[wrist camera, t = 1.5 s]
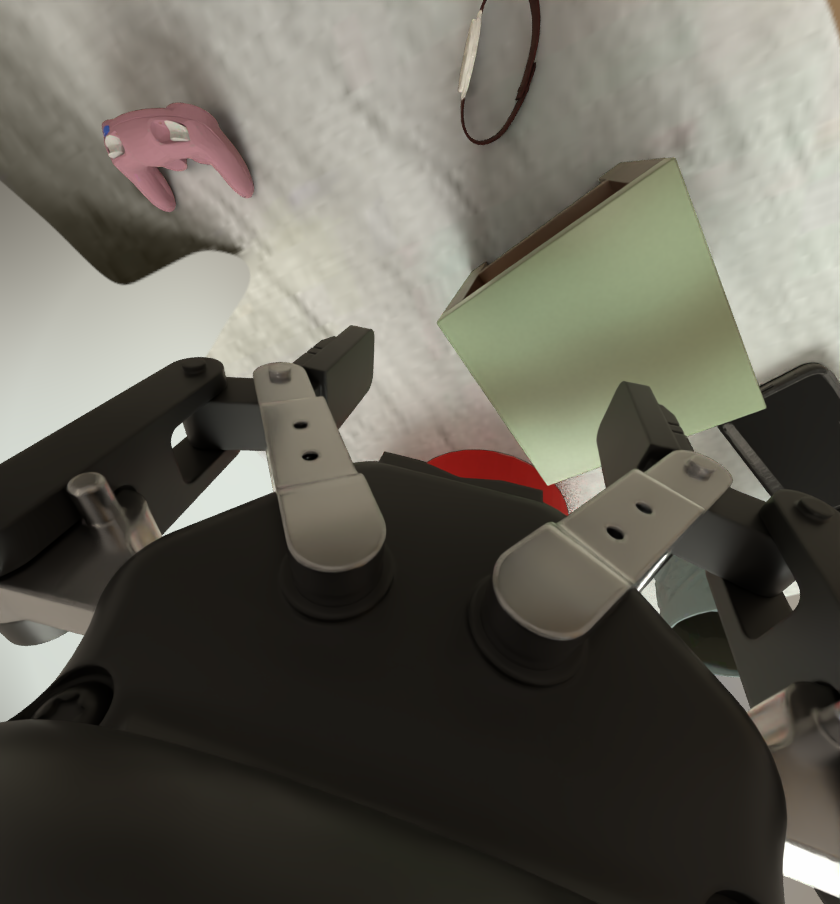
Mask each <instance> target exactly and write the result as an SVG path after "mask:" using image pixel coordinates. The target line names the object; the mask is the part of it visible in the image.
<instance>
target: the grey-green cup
mask: <svg viewBox="0 0 840 904" xmlns="http://www.w3.org/2000/svg"><path fill="white" fill-rule="evenodd" d="M654 578H655V580H656V583H655V586H656V597H657V602H658V607H659V608H660V615H661V617H662V618H663V619H664V620H665V621H666V622H667V623H668V624H669V625H670V627H671V628H672V629H673V630H674V631H675V632H676V633H677V634H678V635H679V637H680V638H681V639H682V640H683V641H684V642H685V643H686V644H687V645H688V647H689V648H690V649H691V650H692V651H693V652H694V653H695V654H696V655H697V657H698V658H699V659H700V660H701V661H702V662H703V663H704V664H705V665H706V667H707V668H708V669H709V670H710V671H711V672H712V673H713V674H714V675H720V676H727V677H740V676H739V673H738V670H737V667H736V664H735V661H734V658H733V655H732V652H731V649H730V646H729V643H728V640H727V637H726V634H725V631H724V628H723V625H722V622H721V619H720V616H719V613H718V610H717V607H716V604H715V601H714V599H713V596H712V593H711V590H710V587H709V584H708V581H707V578H706V574H705V570H704V569H702V568H700V567H698V566H696V565H693V564H691V563H689V562H687V561H685V560H683V559H681V558H679V557H677V556H675V555H674V556H673V557H672V558H671V559H670V560H669V562H668V563H667V564H666V565H665V566H664V567H663V568H662V569H661V570H660V572H659V573H658V574H657V575H656V576H655V577H654ZM792 611H793V610H792Z"/></svg>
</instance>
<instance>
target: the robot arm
mask: <svg viewBox="0 0 840 904" xmlns="http://www.w3.org/2000/svg"><path fill="white" fill-rule="evenodd" d="M373 363H374V332H373V330H372V329H367V328H362V327H358V326H353V325H350V326H349V327H348V328H347V329H345V330H344V331H343V332H342V333H340V334H339V335H338V336H337V337H335V336H333V337H330V338H327V339H324V340H321V341H320V342H319V343H317V344H316V345H315V346H314V347H313V348H311V349H310V350H308V351H307V353H305V354H303V355H302V356H301V357H299V358H298V359H297V360H296V361H294V362H293V363H287V362H276V363H269V364H265V365H262V366H260V367H258V368H257V369H255V371H254V372H253V378H235V377H226V375H225V371H224V366H223V364H222V363H221V362H220V361H218V360H216V359H212V358H206V357H194V358H186V359H182V360H178V361H176V362H173V363H172V364H170V365H168V366H167V367H165V368H163V369H161V370H159V371H158V372H156V373H155V374H153V375H151V376H149V377H148V378H146V379H144V380H142V381H141V382H139V383H137V384H136V385H134V386H132V387H131V388H129V389H128V390H126V391H124V392H122V393H120V394H119V395H117V396H115V397H114V398H112V399H110V400H108V401H107V402H105V403H103V404H102V405H100V406H98V407H97V408H95V409H93V410H92V411H90V412H88V413H86V414H85V415H83V416H81V417H80V418H78V419H76V420H74V421H73V422H71V423H69V424H68V425H66V426H64V427H63V428H61V429H59V430H57V431H56V432H54V433H52V434H51V435H49V436H47V437H45V438H44V439H42V440H40V441H39V442H37V443H35V444H34V445H32V446H30V447H28V448H27V449H25V450H24V451H22V452H20V453H18V454H17V455H15V456H13V457H11V458H10V459H8V460H6V461H5V462H3V463H1V464H0V633H1V634H3V636H5V637H6V638H7V639H8V640H9V641H10V642H12V643H14V644H16V645H21V646H31V645H38V644H42V643H45V642H48V641H51V640H53V639H56V638H58V637H60V636H61V635H63V634H65V633H67V632H68V631H70V632H74V633H77V634H82V635H84V637H83V639H82V641H81V642H80V644H79V646H78V647H77V649H76V651H75V653H74V654H73V656H72V658H71V659H70V660H69V662H68V663H67V665H66V666H65V668H64V669H63V670H62V672H61V673H60V675H59V676H58V677H57V678H56V680H55V681H54V682H53V683H52V684H51V686H49V687H48V689H47V690H46V691H44V692H43V693H42V694H41V695H40V696H39V697H38V698H37V699H36V700H35V701H34V702H32V703H31V704H30V705H29V706H27V707H26V708H25V709H24V710H22V711H21V712H20V713H18V714H17V715H16V716H14V717H13V718H11V719H9V720H8V721H6V722H1V723H0V904H785V901H784V888H783V875H785V876H787V877H789V878H792V879H794V880H797V881H799V882H801V883H804V884H806V885H809V886H811V887H814V889H815V891H816V892H817V894H818V896H819V897H820V899H821V900H822V902H823V903H824V904H840V512H839V511H837V510H836V509H835V508H833V507H832V506H830V505H828V504H827V503H825V502H823V501H821V500H819V499H817V498H815V497H813V496H811V495H808V494H805V493H802V492H799V491H795V490H789V489H781V490H778V491H776V492H775V493H774V494H773V495H772V496H771V498H770V499H769V500H768V501H767V502H764V501H762V500H759V499H757V498H754V497H752V496H749V495H747V494H744V493H742V492H739V491H737V490H735V489H732V488H730V486H731V484H732V483H733V479H732V476H731V474H730V473H729V472H728V470H726V469H725V468H724V467H723V466H722V465H721V464H719V463H718V462H716V461H714V460H713V459H711V458H709V457H707V456H704V455H702V454H699V453H696V452H694V450H693V448H692V446H691V444H690V442H689V441H688V439H687V437H686V435H684V431H683V430H682V428H681V427H679V426H680V424H679V422H678V421H677V419H676V417H675V415H674V414H673V413H672V412H670V411H669V410H668V409H667V408H666V407H664V406H663V405H660V404H658V402H657V400H656V398H655V396H654V394H653V392H652V390H651V388H650V386H647V385H642V384H637V383H632V382H627V381H622V382H621V383H620V384H619V386H618V387H617V389H616V391H615V394H614V396H613V398H612V400H611V402H610V404H609V406H608V408H607V410H606V413H605V415H604V417H603V419H602V421H601V423H600V426H599V429H598V432H597V438H596V442H597V447H598V452H599V457H600V462H601V467H602V472H603V476H604V481H605V486H606V489H604V490H603V491H602V492H600V493H599V494H597V495H596V496H595V497H593V498H592V499H590V500H589V501H588V502H586V503H585V504H583V505H582V506H581V507H579V508H578V509H576V510H575V511H573V512H572V513H571V514H569V515H568V516H567V515H565V514H564V513H562V512H561V511H559V510H558V509H556V508H554V507H552V506H550V505H548V504H546V503H544V502H543V490H540V489H536V488H532V487H528V486H524V485H519V484H515V483H511V482H507V481H503V480H491V479H477V478H464V477H458V476H456V475H453V474H451V473H449V472H447V471H444V470H442V469H440V468H437V467H435V466H433V465H431V464H428V463H426V462H424V461H421V460H417V459H413V458H409V457H405V456H401V455H396V454H392V453H388V452H384V453H383V455H382V457H381V459H380V461H365V462H355V463H353V462H352V460H351V457H350V455H349V453H348V451H347V448H346V446H345V444H344V441H343V439H342V437H341V435H340V432H339V430H338V429H339V428H340V427H341V426H342V424H343V423H344V422H345V420H346V419H347V418H348V416H349V415H350V414H351V413H352V411H353V410H354V409H355V407H356V406H357V405H358V404H359V402H360V401H361V400H362V398H363V397H364V396H365V394H366V393H367V392H368V390H369V389H370V386H371V383H372V378H373ZM182 422H183V425H184V428H185V431H186V434H187V437H186V438H184V439H183V440H182V441H181V442H180V443H179V444H177V445H176V446H175V447H174V448H173V449H172V446H171V437H172V434H173V431H174V430H175V428H176V427H177V426H178V425H180V424H181V423H182ZM240 450H250V451H251V450H252V451H266V456H267V461H268V466H269V472H270V477H271V482H272V488H273V493H270V494H268V495H265V496H263V497H260V498H257V499H255V500H252V501H250V502H247V503H245V504H243V505H240V506H237V507H235V508H232V509H230V510H227V511H225V512H222V513H220V514H217V515H215V516H212V517H210V518H207V519H205V520H202V521H200V522H197V523H194V524H192V525H189V526H187V527H184V528H182V529H179V530H177V531H174V532H172V533H169V534H167V535H165V536H163V537H162V535H163V534H164V532H166V530H167V529H168V528H169V527H170V526H171V525H172V524H173V523H174V522H175V521H176V520H177V519H178V517H180V515H182V513H183V512H184V511H185V510H186V509H187V508H188V507H189V506H190V505H191V504H192V503H193V502H194V501H195V500H196V499H197V497H198V496H199V495H200V494H201V493H202V492H203V491H204V490H205V489H206V488H207V487H208V486H209V485H210V484H211V482H212V481H213V480H214V479H215V478H216V477H217V476H218V475H219V474H220V473H221V472H222V471H223V470H224V468H226V467H227V465H228V464H229V463H230V462H231V461H232V460H233V459H234V458H235V457H236V456H237V455H238V453H239V452H240ZM674 555H675V556H677V557H679V558H681V559H683V560H685V561H687V562H689V563H691V564H693V565H696V566H698V567H700V568H702V569H704V570H705V574H706V578H707V581H708V584H709V587H710V590H711V593H712V596H713V599H714V601H715V604H716V607H717V610H718V613H719V616H720V619H721V622H722V625H723V628H724V631H725V634H726V637H727V640H728V643H729V646H730V649H731V652H732V655H733V658H734V661H735V664H736V667H737V670H738V673H739V676H740V679H741V682H742V685H743V687H744V690H745V693H746V697H747V699H748V702H749V705H750V708H751V709H750V710H748V711H747V712H746V711H745V709H744V708H743V707H742V706H741V705H740V704H739V702H738V701H737V700H736V699H735V698H734V697H733V695H732V694H731V693H730V692H729V691H728V690H727V689H726V688H725V687H724V685H723V684H722V683H721V682H720V681H719V680H718V679H717V678H716V677H715V675H714V674H713V673H712V672H711V671H710V670H709V669H708V668H707V667H706V665H705V664H704V663H703V662H702V661H701V660H700V659H699V658H698V657H697V655H696V654H695V653H694V652H693V651H692V650H691V649H690V648H689V647H688V645H687V644H686V643H685V642H684V641H683V640H682V639H681V638H680V637H679V635H678V634H677V633H676V632H675V631H674V630H673V629H672V628H671V627H670V625H669V624H668V623H667V622H666V621H665V620H664V619H663V618H662V617H661V615H660V614H659V613H658V612H657V611H656V610H655V609H654V608H653V607H652V605H651V604H650V603H649V602H648V601H647V600H646V599H645V598H644V597H643V595H642V594H641V593H640V592H641V591H642V590H643V589H644V588H645V587H646V586H647V585H648V584H649V583H650V581H651V580H652V579H653V578H654V577H655V576H656V575H657V574H658V573H659V572H660V570H661V569H662V568H663V567H664V566H665V565H666V564H667V563H668V562H669V560H670V559H671V558H672V557H673V556H674ZM795 580H796V582H797V584H798V586H799V589H800V600H799V603H798V605H797V607H796V608H795V610H794V611H792V609H791V607H790V606H789V604H788V602H787V600H786V598H785V596H784V594H783V592H782V591H783V590H785V589H786V588H787V587H788V586H789V585H791V584H792V583H793V582H794V581H795Z"/></svg>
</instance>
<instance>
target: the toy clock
mask: <svg viewBox="0 0 840 904" xmlns="http://www.w3.org/2000/svg"><path fill="white" fill-rule="evenodd" d="M427 463H428V464H431V465H433V466H435V467H437V468H440V469H442V470H444V471H447V472H449V473H451V474H453V475H456V476H458V477H464V478H477V479H491V480H503V481H507V482H511V483H515V484H519V485H524V486H528V487H532V488H536V489H540V490H543V502H544V503H546V504H548V505H550V506H552V507H554V508H556V509H558V510H559V511H561V512H562V513H564V514H565V515H567V516H568V515H569V514H568V510H567V506H566V502H565V500H564V498H563V496H562V494H561V492H560V491H559V489H558V488H557V487H556V485H555V484H552V485H549V486H547V484H546V483H545V482H544V480H543V479H542V477H541V476H540V474H539V473H538V471H537V470H536V468H535V467H534V466H532V465H530V464H529V463H527V462H525V461H523V460H520V459H518V458H516V457H513V456H510V455H506V454H503V453H499V452H494V451H486V450H462V451H456V452H450V453H447V454H444V455H441V456H438V457H436V458H434V459H432V460H430V461H428V462H427Z"/></svg>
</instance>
